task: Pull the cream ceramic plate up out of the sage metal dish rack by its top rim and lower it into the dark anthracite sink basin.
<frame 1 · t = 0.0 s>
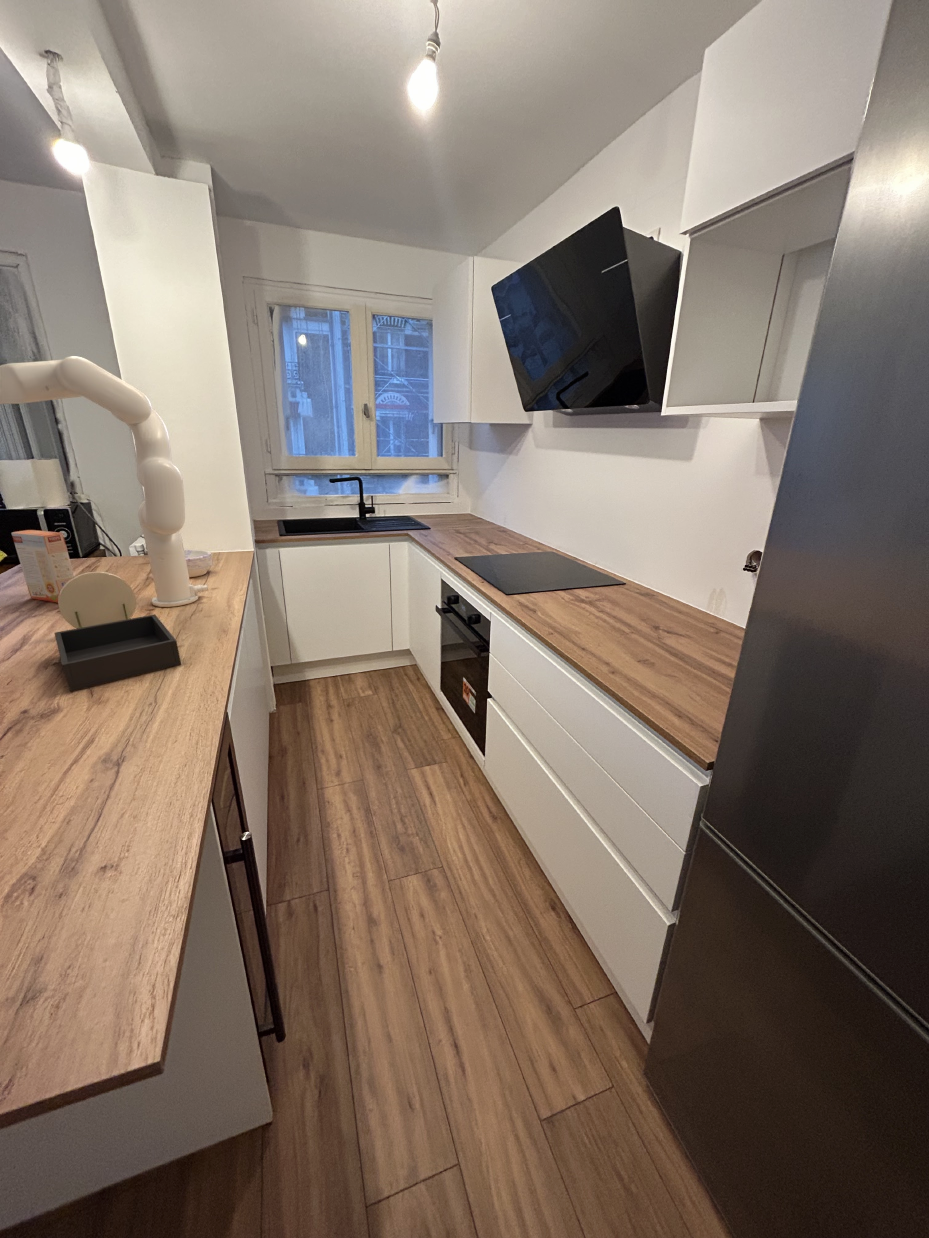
plate: (106, 631, 127), resting in drying rack
sink basin: (120, 660, 111), on the table
drying rack: (106, 631, 127), on the table
paper bowls: (191, 575, 181), on the table
cracker box: (56, 599, 152), on the table
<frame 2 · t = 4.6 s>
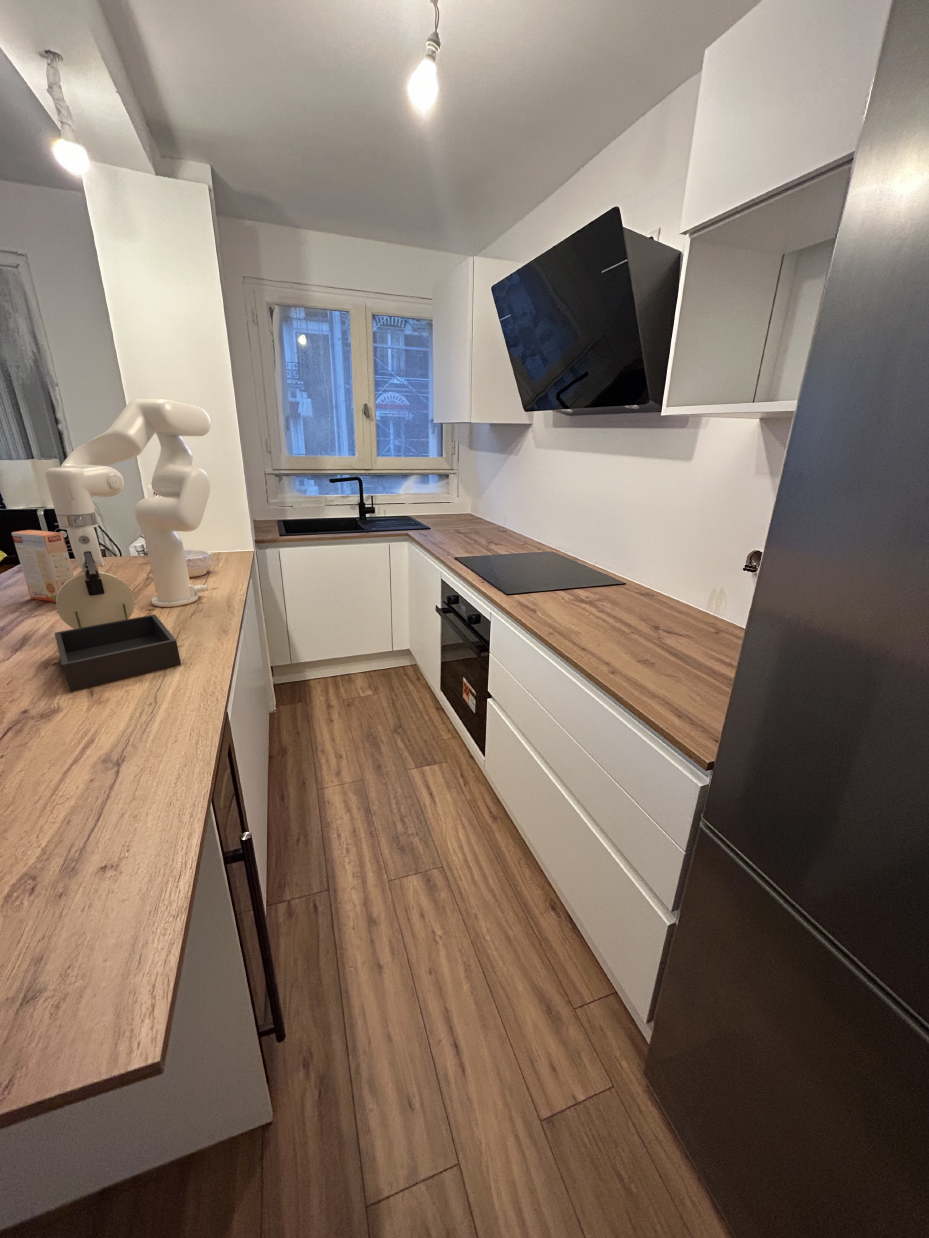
hand: (96, 593, 123), 11 cm above the table, tool pointing down, fingers closed on plate, 1 cm apart
plate: (106, 631, 127), resting in drying rack, touching gripper
everything else where it was.
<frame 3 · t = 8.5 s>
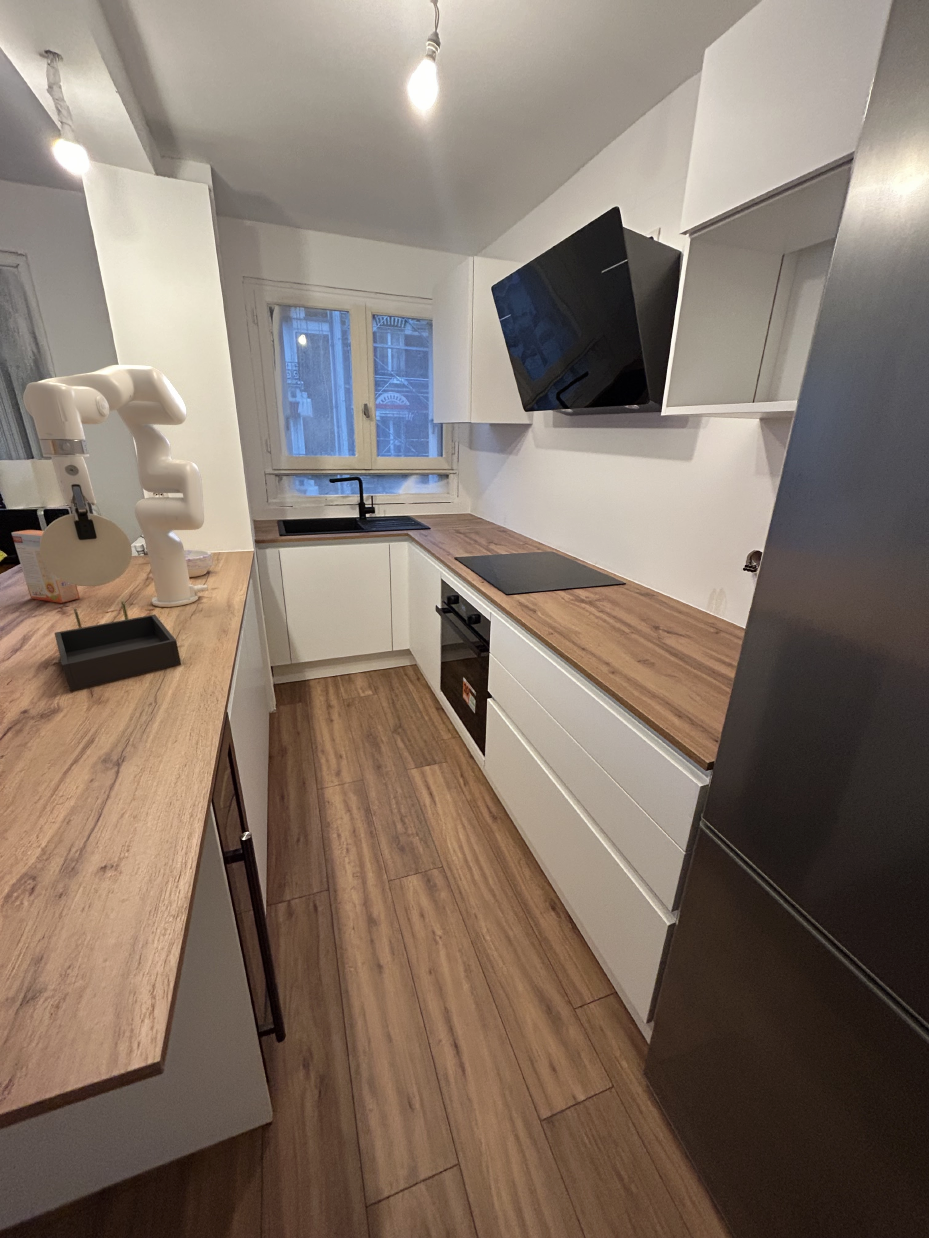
hand: (87, 538, 106), 27 cm above the table, tool pointing down, fingers closed on plate, 1 cm apart
plate: (98, 585, 109), point 17 cm above the table, touching gripper
everything else where it was.
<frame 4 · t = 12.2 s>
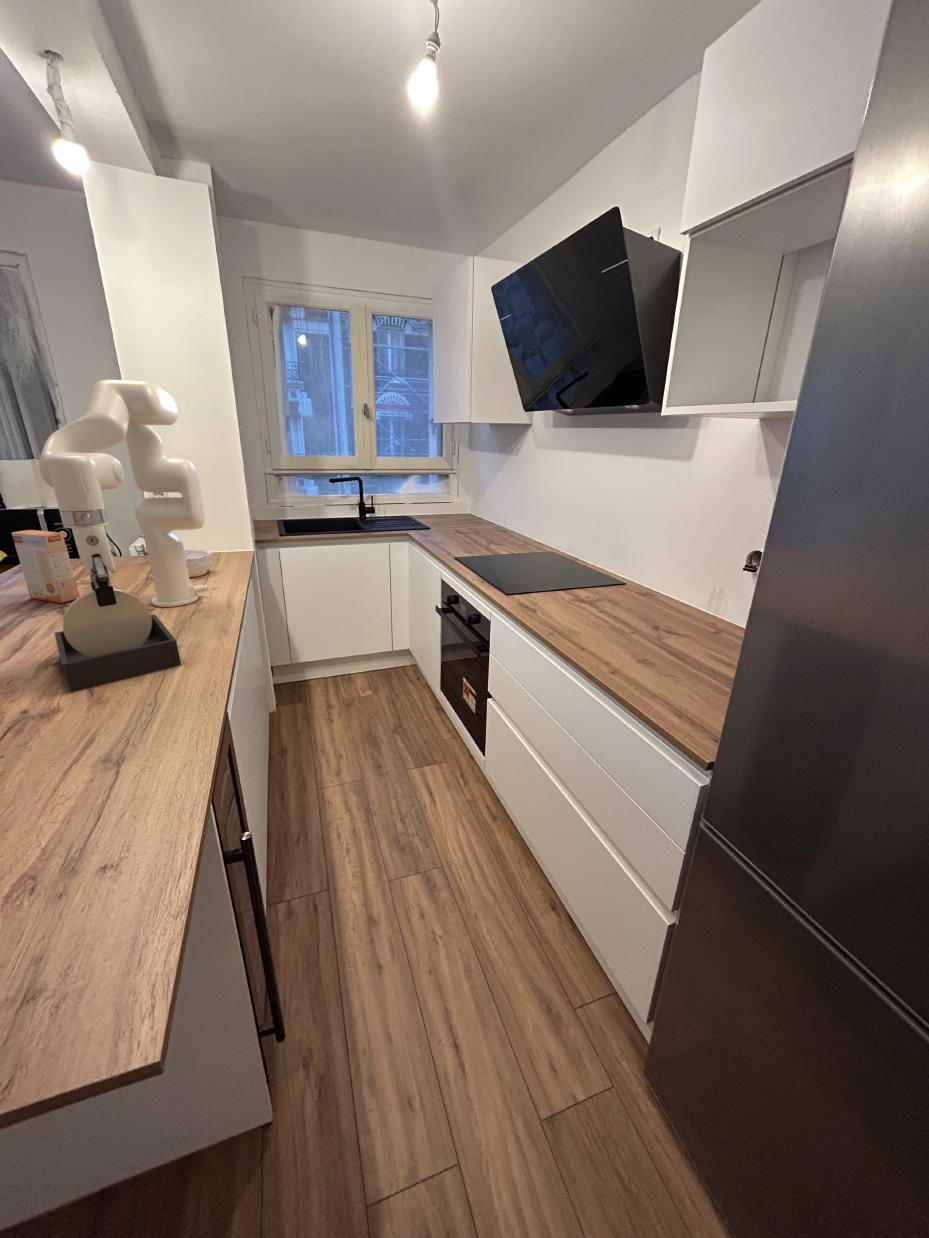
hand: (105, 600, 106), 14 cm above the table, tool pointing down, fingers open, 5 cm apart
plate: (119, 656, 111), point 1 cm above the table, touching sink basin
everything else where it was.
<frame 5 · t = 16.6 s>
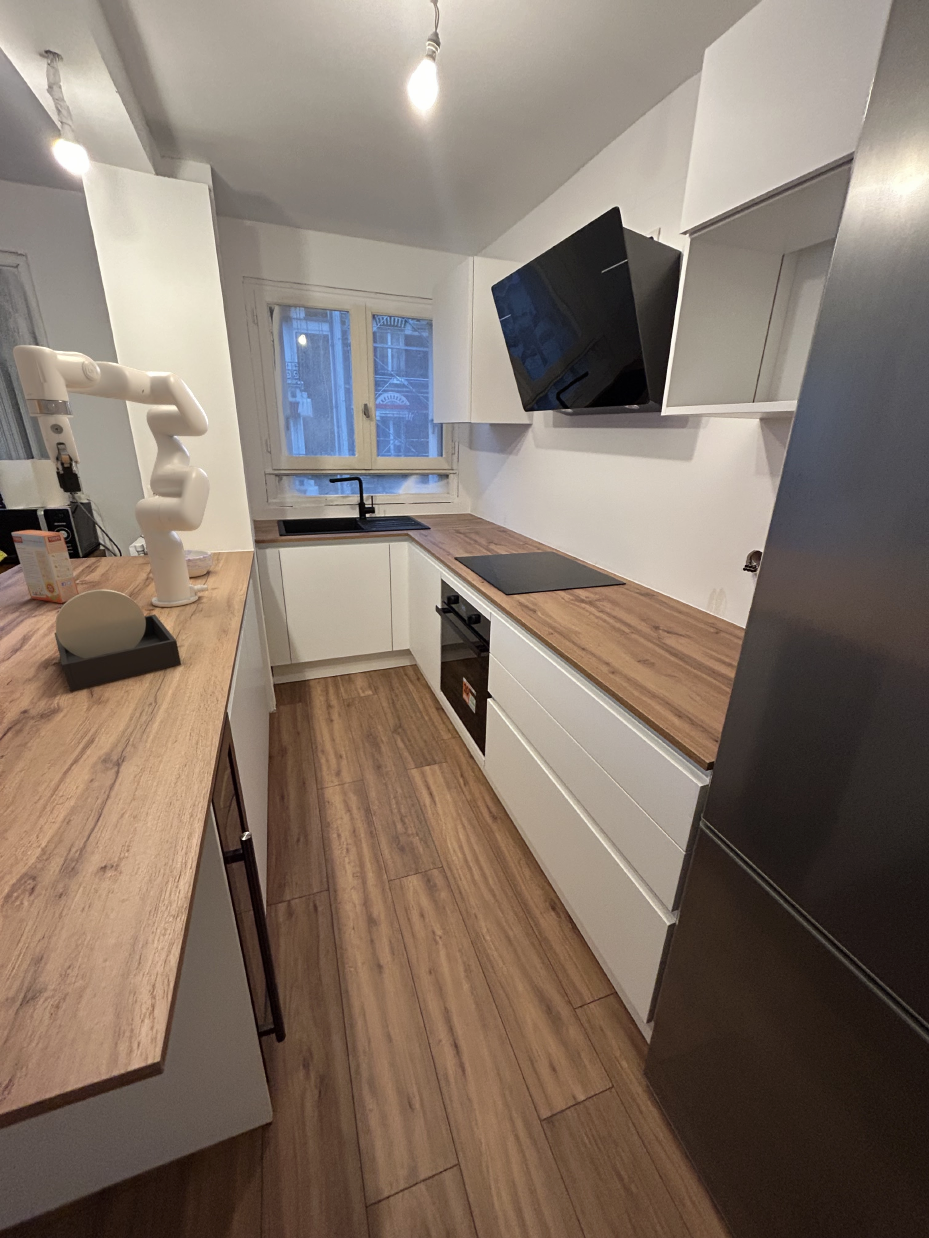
hand: (70, 490, 112), 36 cm above the table, tool pointing down, fingers open, 9 cm apart
plate: (119, 655, 111), point 1 cm above the table, tilted 12°, touching sink basin
everything else where it was.
at the end: plate inside the target area in the sink basin (0.2 cm from its centre), point 1.2 cm above the sink basin's base; the gripper is holding nothing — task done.
